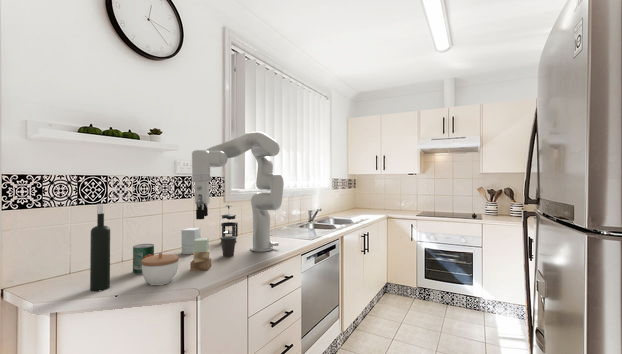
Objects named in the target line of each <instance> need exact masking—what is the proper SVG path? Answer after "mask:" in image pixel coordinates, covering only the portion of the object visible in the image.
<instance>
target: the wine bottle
mask: <svg viewBox="0 0 622 354" xmlns="http://www.w3.org/2000/svg"><path fill="white" fill-rule="evenodd" d="M96 215H97V220H96V221H97V222H96V223H97V225H96V226H93V227H92V228H91V230H90V244H89V245H90V252H89V255H90V259H89V261H90V263H89V266H90V267H89V268H90V269H89V275H90V276H89V291H90V290H91V292H100V291H99V290H102V291H105V290H104V289H106V290H108V289H109V287H110V288H111V228H110V227H109V226H107V225H105V203H97V205H96ZM107 288H108V289H107Z"/></svg>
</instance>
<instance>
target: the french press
mask: <svg viewBox="0 0 622 354" xmlns="http://www.w3.org/2000/svg"><path fill="white" fill-rule="evenodd" d="M226 207H227V209H228V212H227V214H222V215H221V219H222V220H224V219H227V221H226V222H221V224H220V226H221V237H223V236H226V235H231V236H234V237H236V238H237V237H238V236H239V235H238V234H239V233H238V232H239V231H238V229H239V226H238V225H239V224H238V222H232V220H235V219H236V216H237V214H230V207H232V205H230V204H229V205H226ZM230 220H231V222H230ZM226 227H227V228H228V230H227V231H226ZM230 227H231V230H230ZM220 244H221V245H222V243H221V242H220ZM235 244H237V240H236V241H235Z"/></svg>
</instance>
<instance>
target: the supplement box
mask: <svg viewBox="0 0 622 354" xmlns="http://www.w3.org/2000/svg"><path fill="white" fill-rule="evenodd" d="M180 231H181V255H194V240H196V239H197V238H202V237H201V227H187V228H184V229H181V230H180Z"/></svg>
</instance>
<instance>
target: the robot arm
mask: <svg viewBox="0 0 622 354" xmlns="http://www.w3.org/2000/svg"><path fill="white" fill-rule="evenodd" d="M249 150H250V151H251V154H252V155H253V157H254V158H255V160H256V162H257V171H256V172H257V173H256V180H255V184H256V185H255V186H256V188H257V190H259V191H270V192H256V193H254V194H253V195H252V197H251V198H250V204H251V210H252V246H250V247H249V250H250V252H255V253H256V252H257V253H259V252H260V253H264V252H265V253H266V252H269V251H272V250H274V247H278V246H279V242H276V241H272V240H271V215H270V213H269V211H278V210H279V209H280V208H281V206H282V204H283V203H282V202H283V193H284V183H285V182H284V178H283V176H282V175H281V174H280V173H274V171H273V170H274V163H273V161H272V159H270V158H271V157H275V156H278V154H279V152H280V150H281V149H280V145H279V143H278V142H277V140H275V139H274V138H273V137H271V136H269V134H266V133H265V132H262V131H251V132H250V131H249V132H245V133H243V134H241V135H239V136H237V137H234V138H232V139H230V140H227V141H225V142H222V143H219V144H216V145H213V146H211V147H208V148H207V149H195V150H193V151H192V152H191V175H192V176H191V182H192V183H194V203H195V205H196V206H195V207H196V208H195V209H196V210H195V219H196V221H197V220H205V217H208V213H209V211H208V208H209V207H208V205H209V204H210V202H211V199H210V198H211V197H210V183H209V182H211V178H212V177H211V168H221V167H224V166H226V164H227V162H228V159H231V158H236V157H239V156H241V155H243V154H245V153H246V152H248V151H249Z"/></svg>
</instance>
